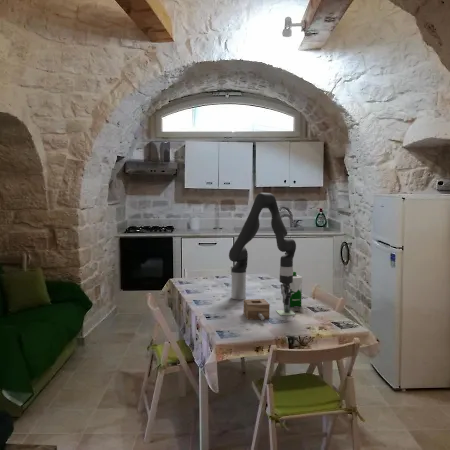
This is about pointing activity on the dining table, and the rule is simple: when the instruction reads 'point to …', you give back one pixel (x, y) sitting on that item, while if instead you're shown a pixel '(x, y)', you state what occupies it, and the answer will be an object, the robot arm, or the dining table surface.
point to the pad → (281, 312)
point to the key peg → (286, 307)
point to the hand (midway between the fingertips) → (285, 303)
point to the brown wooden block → (256, 309)
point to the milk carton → (296, 290)
